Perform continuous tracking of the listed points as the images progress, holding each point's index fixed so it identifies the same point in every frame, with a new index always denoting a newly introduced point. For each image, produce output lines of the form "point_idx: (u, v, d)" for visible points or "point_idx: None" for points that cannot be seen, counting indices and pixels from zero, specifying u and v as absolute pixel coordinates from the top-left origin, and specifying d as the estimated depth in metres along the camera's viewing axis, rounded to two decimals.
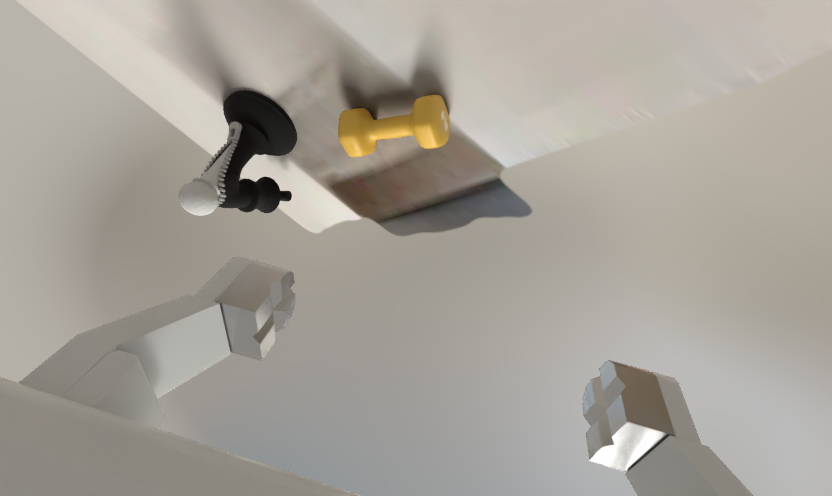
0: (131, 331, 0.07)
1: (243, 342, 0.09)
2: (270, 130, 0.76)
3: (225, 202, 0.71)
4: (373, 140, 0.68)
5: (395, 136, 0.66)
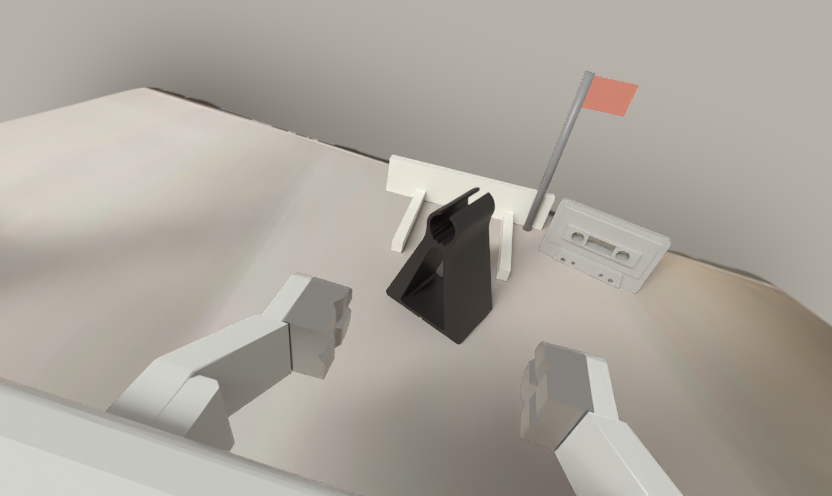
0: (207, 354, 0.07)
1: (306, 361, 0.09)
2: None
3: None
4: None
5: None
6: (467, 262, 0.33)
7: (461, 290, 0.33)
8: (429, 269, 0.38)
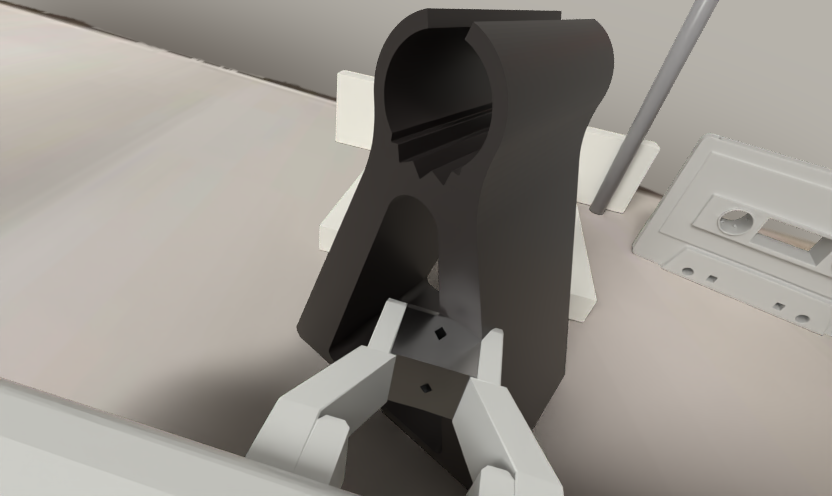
0: (328, 391, 0.07)
1: (406, 391, 0.09)
2: None
3: None
4: None
5: None
6: (522, 254, 0.10)
7: None
8: (406, 274, 0.15)
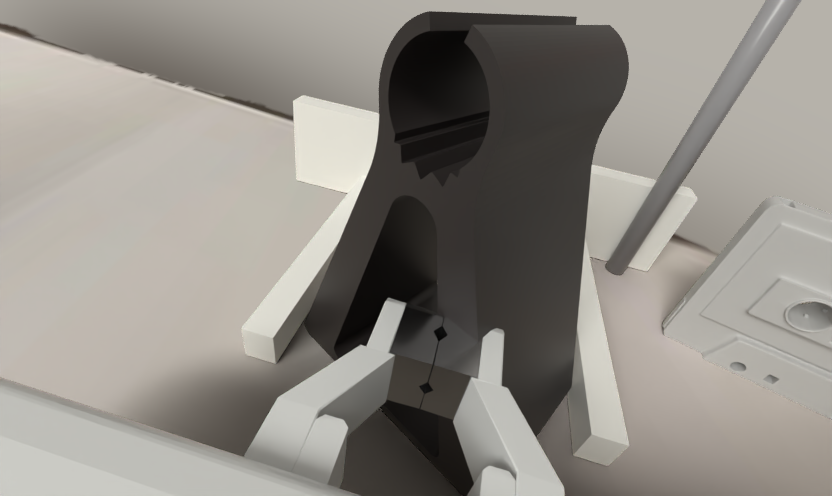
0: (327, 391, 0.07)
1: (405, 391, 0.09)
2: None
3: None
4: None
5: None
6: (524, 260, 0.10)
7: None
8: (414, 276, 0.15)
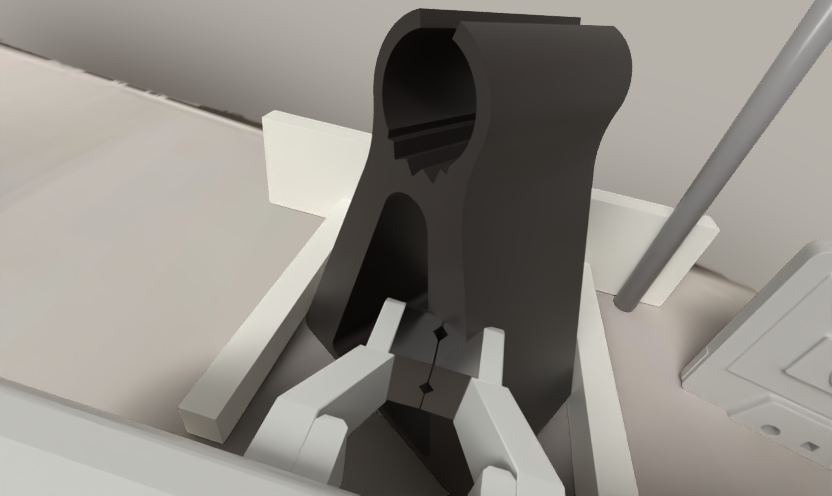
0: (326, 391, 0.07)
1: (405, 390, 0.09)
2: None
3: None
4: None
5: None
6: (518, 261, 0.09)
7: None
8: (415, 276, 0.15)
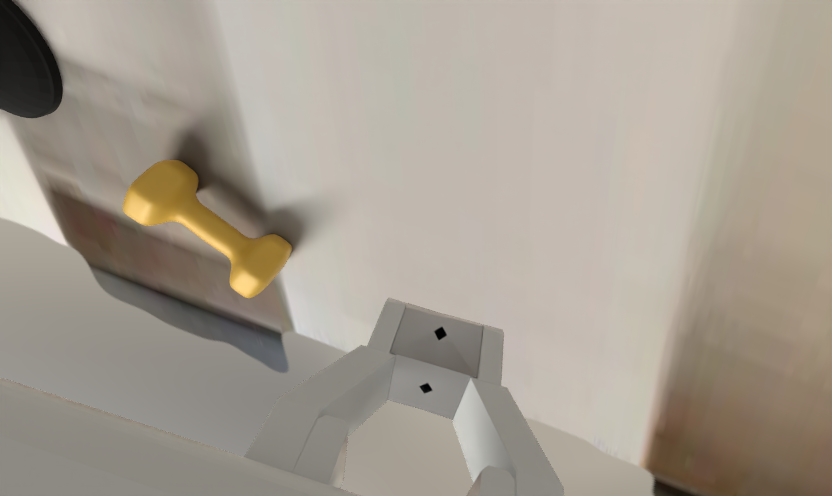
0: (327, 391, 0.07)
1: (405, 391, 0.09)
2: (7, 79, 0.43)
3: None
4: (176, 221, 0.47)
5: (208, 242, 0.48)
6: None
7: None
8: None
